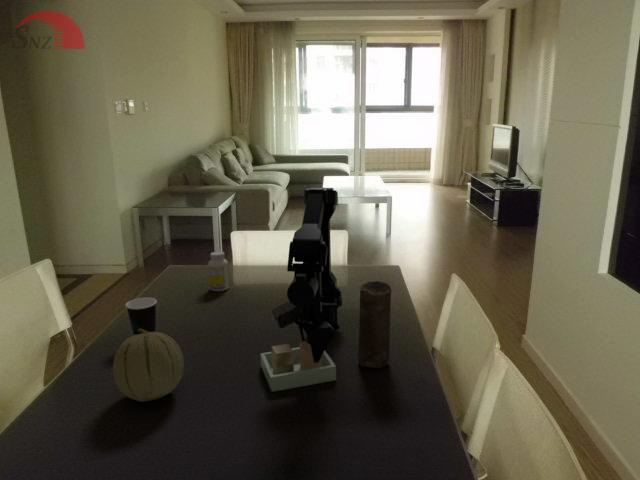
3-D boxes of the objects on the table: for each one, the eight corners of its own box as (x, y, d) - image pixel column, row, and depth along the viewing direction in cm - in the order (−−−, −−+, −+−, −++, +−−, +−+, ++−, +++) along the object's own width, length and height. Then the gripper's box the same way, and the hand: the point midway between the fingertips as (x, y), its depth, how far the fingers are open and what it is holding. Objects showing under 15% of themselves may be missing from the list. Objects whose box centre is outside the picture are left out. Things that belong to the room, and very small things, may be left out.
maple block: (289, 366, 122) (288, 343, 121) (294, 374, 119) (293, 350, 117) (272, 369, 121) (271, 346, 120) (277, 377, 118) (276, 353, 116)
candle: (392, 359, 126) (393, 282, 122) (386, 374, 120) (387, 292, 115) (362, 355, 129) (362, 279, 124) (354, 369, 122) (354, 289, 117)
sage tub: (320, 356, 129) (320, 343, 128) (336, 380, 118) (335, 366, 117) (261, 366, 125) (260, 353, 124) (271, 391, 113) (270, 377, 113)
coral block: (316, 362, 124) (315, 339, 123) (321, 370, 120) (320, 346, 119) (300, 365, 123) (299, 342, 122) (304, 373, 119) (304, 349, 118)
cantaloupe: (148, 423, 103) (139, 354, 99) (101, 402, 111) (92, 338, 107) (201, 389, 115) (195, 326, 111) (156, 372, 123) (149, 314, 119)
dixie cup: (126, 347, 136) (121, 308, 133) (135, 334, 144) (130, 297, 141) (156, 346, 136) (152, 307, 134) (164, 333, 144) (160, 296, 141)
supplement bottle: (220, 284, 184) (217, 249, 181) (233, 287, 180) (231, 252, 177) (206, 289, 179) (203, 254, 175) (219, 293, 175) (217, 256, 172)
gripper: (265, 282, 123) (268, 342, 127) (283, 310, 106) (286, 378, 110) (310, 276, 126) (312, 335, 130) (334, 303, 109) (335, 369, 113)
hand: (310, 353), depth 121 cm, fingers open, 9 cm apart
